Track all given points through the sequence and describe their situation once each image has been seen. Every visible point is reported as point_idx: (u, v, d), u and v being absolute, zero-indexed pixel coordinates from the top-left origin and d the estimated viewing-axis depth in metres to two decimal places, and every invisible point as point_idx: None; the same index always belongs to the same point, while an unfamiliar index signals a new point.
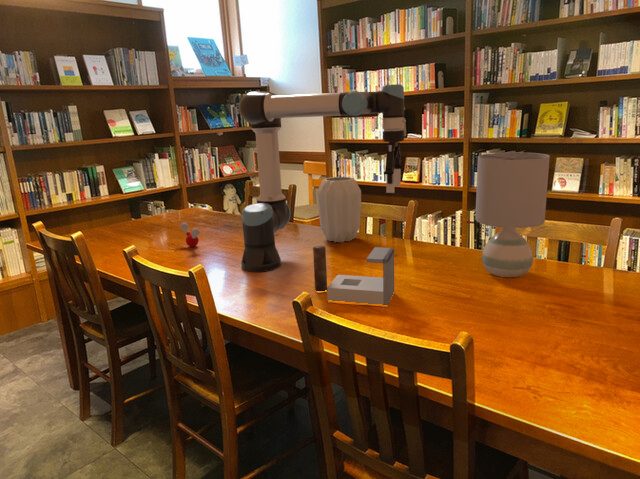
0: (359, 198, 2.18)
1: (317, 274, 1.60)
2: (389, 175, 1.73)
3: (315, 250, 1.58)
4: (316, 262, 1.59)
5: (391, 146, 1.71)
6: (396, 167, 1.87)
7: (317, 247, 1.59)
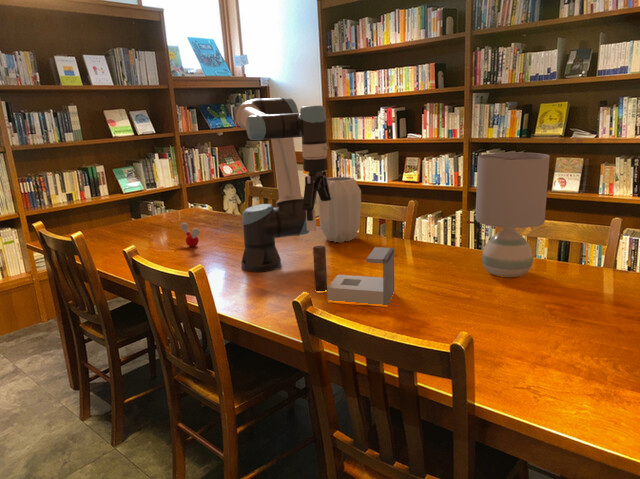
0: (359, 198, 2.18)
1: (317, 274, 1.60)
2: (308, 211, 1.48)
3: (315, 250, 1.58)
4: (316, 262, 1.59)
5: (310, 177, 1.47)
6: (323, 199, 1.62)
7: (317, 247, 1.59)
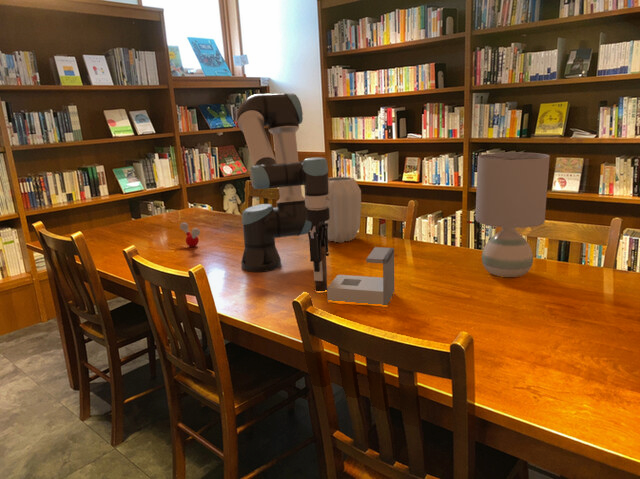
0: (359, 198, 2.18)
1: None
2: (316, 263, 1.57)
3: None
4: None
5: (313, 234, 1.52)
6: None
7: None
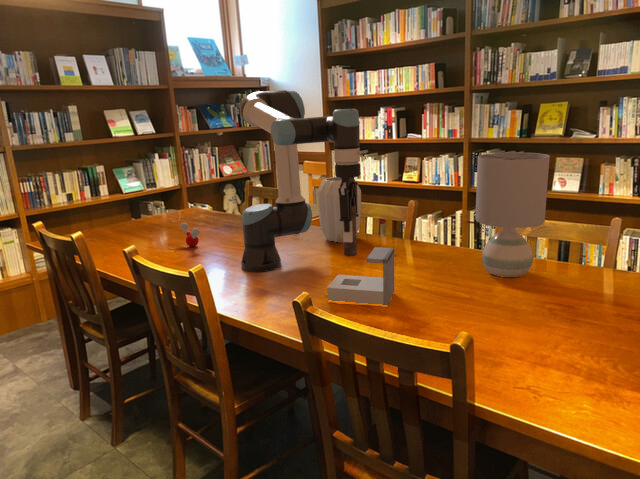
0: (359, 198, 2.18)
1: None
2: (346, 222, 1.47)
3: None
4: None
5: (343, 190, 1.42)
6: None
7: None
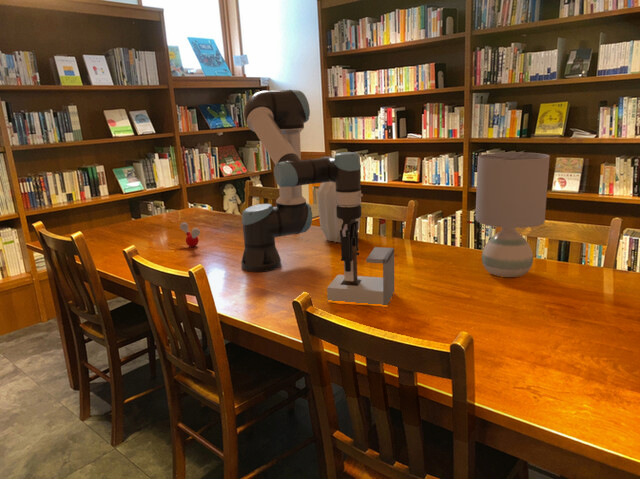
0: None
1: None
2: (347, 262, 1.50)
3: None
4: None
5: (345, 232, 1.45)
6: None
7: None
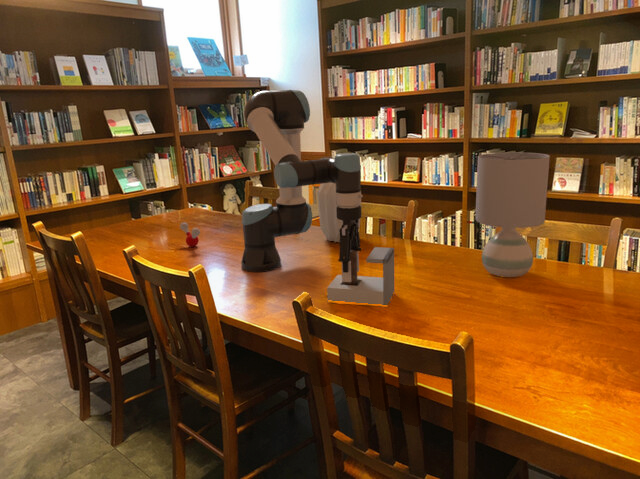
0: None
1: None
2: (344, 263, 1.48)
3: None
4: None
5: (345, 230, 1.45)
6: (353, 249, 1.58)
7: None
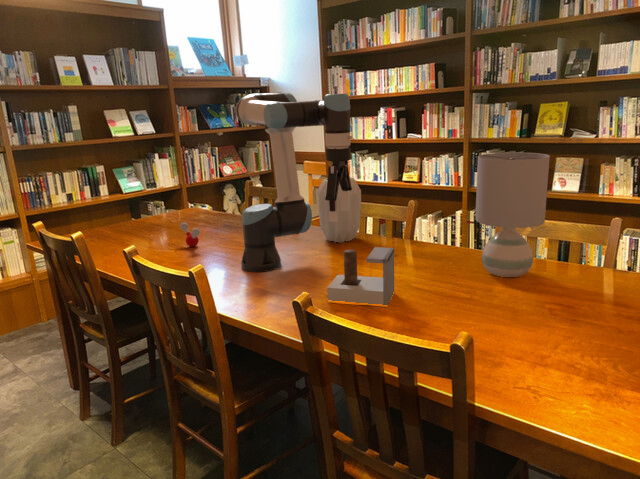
0: (359, 198, 2.18)
1: (348, 279, 1.54)
2: (331, 201, 1.46)
3: (346, 254, 1.52)
4: (347, 267, 1.53)
5: (333, 167, 1.44)
6: (344, 189, 1.60)
7: (348, 251, 1.53)
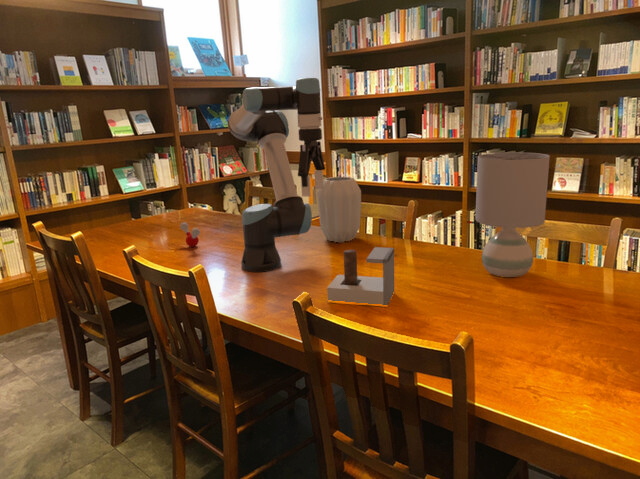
0: (359, 198, 2.18)
1: (348, 279, 1.54)
2: (303, 177, 1.58)
3: (346, 254, 1.52)
4: (347, 267, 1.53)
5: (305, 145, 1.56)
6: (318, 168, 1.72)
7: (348, 251, 1.53)
